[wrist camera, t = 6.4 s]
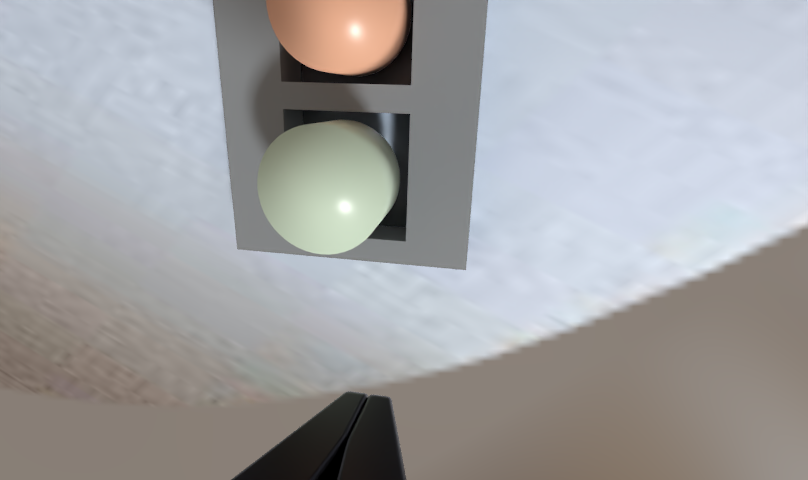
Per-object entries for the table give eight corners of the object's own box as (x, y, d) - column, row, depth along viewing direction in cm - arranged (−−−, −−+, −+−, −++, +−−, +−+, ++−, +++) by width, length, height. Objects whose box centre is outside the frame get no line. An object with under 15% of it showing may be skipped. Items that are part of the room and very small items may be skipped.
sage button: (401, 122, 16) (385, 126, 13) (398, 234, 17) (383, 259, 15) (290, 117, 17) (252, 121, 14) (296, 225, 18) (262, 248, 15)
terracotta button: (413, -52, 16) (399, -85, 13) (409, 78, 17) (395, 73, 14) (298, -49, 16) (260, -81, 13) (303, 75, 18) (270, 71, 15)
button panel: (514, -323, 13) (519, -392, 11) (467, 253, 19) (465, 269, 17) (217, -290, 15) (179, -346, 13) (259, 235, 21) (237, 249, 19)
